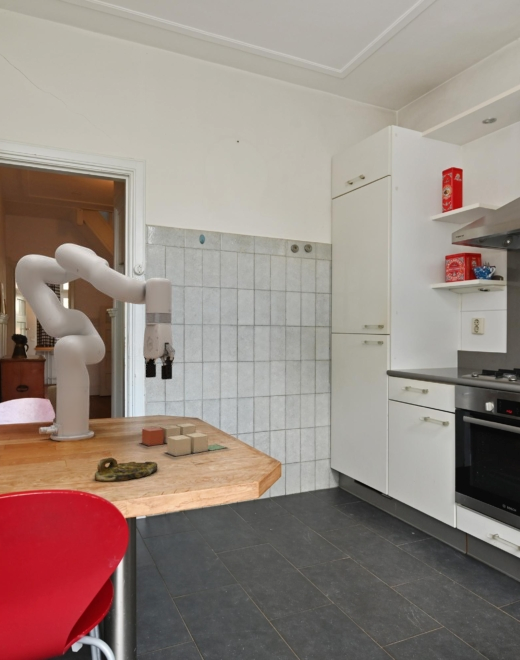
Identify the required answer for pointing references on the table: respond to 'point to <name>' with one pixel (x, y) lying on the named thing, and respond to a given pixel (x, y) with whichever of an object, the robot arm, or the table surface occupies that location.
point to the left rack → (175, 431)
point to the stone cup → (53, 398)
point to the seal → (123, 470)
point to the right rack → (190, 445)
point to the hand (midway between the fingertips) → (158, 378)
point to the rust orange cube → (152, 436)
